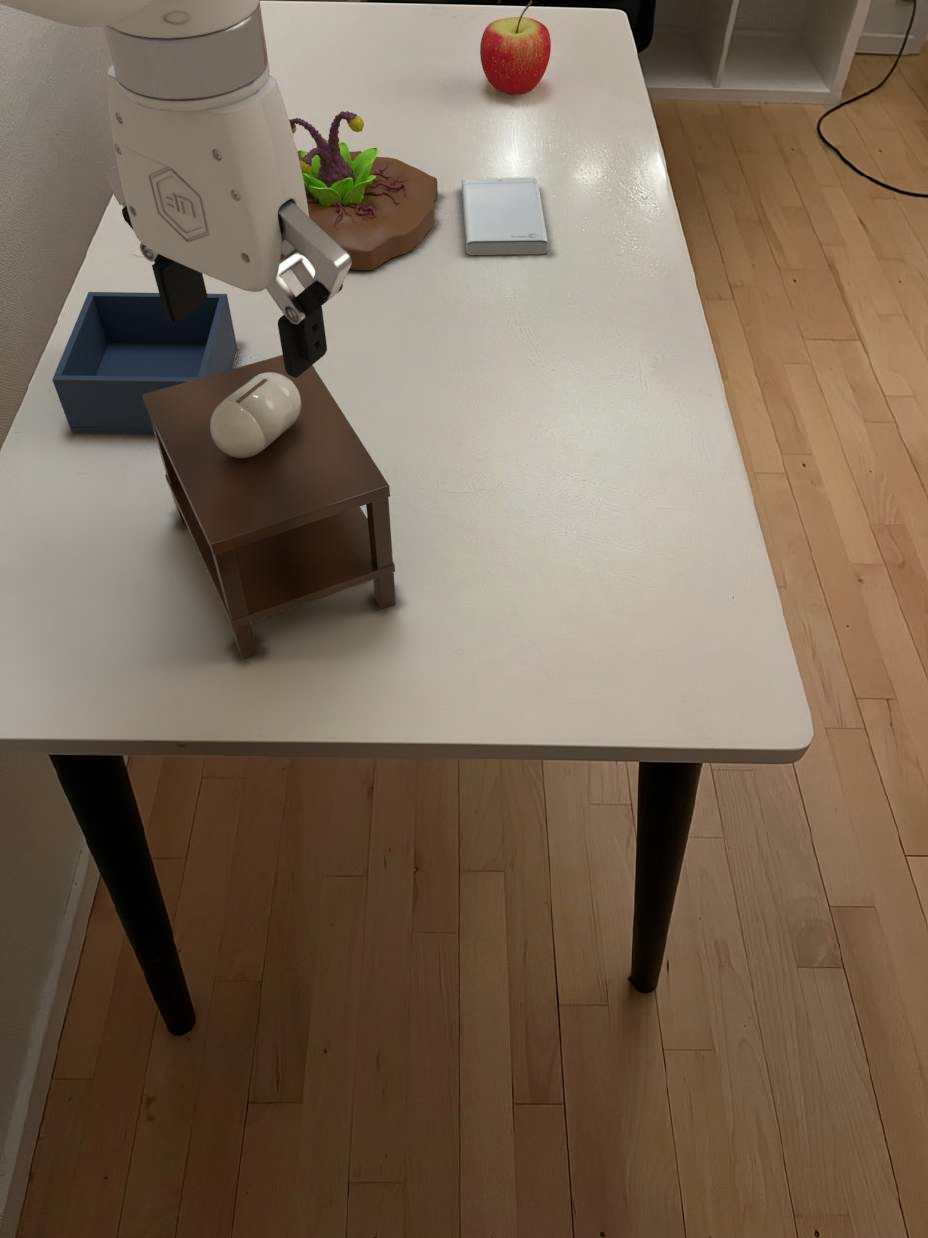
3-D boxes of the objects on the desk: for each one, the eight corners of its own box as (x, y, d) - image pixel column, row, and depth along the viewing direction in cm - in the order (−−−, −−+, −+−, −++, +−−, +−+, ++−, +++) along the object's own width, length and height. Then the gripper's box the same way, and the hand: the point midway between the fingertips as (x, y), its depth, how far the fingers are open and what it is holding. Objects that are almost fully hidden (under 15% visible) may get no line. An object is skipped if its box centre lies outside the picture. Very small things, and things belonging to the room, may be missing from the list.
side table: (241, 661, 74) (210, 544, 65) (176, 515, 83) (141, 394, 74) (397, 604, 78) (389, 485, 68) (318, 469, 87) (302, 348, 77)
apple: (556, 101, 128) (563, 12, 120) (488, 108, 126) (490, 19, 119) (538, 71, 133) (543, -16, 125) (472, 78, 131) (473, -10, 124)
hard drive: (548, 239, 106) (537, 175, 113) (466, 241, 105) (461, 176, 113) (547, 254, 107) (536, 190, 115) (466, 256, 107) (461, 191, 114)
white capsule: (248, 479, 69) (238, 431, 66) (202, 455, 70) (191, 408, 67) (316, 420, 72) (310, 373, 69) (271, 399, 74) (263, 351, 71)
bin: (215, 435, 89) (203, 381, 85) (71, 432, 89) (51, 379, 85) (237, 346, 97) (226, 293, 93) (104, 344, 97) (88, 291, 93)
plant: (394, 287, 103) (388, 177, 94) (213, 250, 107) (191, 142, 98) (459, 186, 115) (460, 81, 106) (294, 157, 119) (282, 52, 110)
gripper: (8, 31, 53) (101, 320, 66) (273, 125, 47) (317, 422, 60) (117, -20, 57) (184, 263, 70) (375, 61, 51) (395, 353, 64)
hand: (245, 336), depth 65 cm, fingers open, 9 cm apart
